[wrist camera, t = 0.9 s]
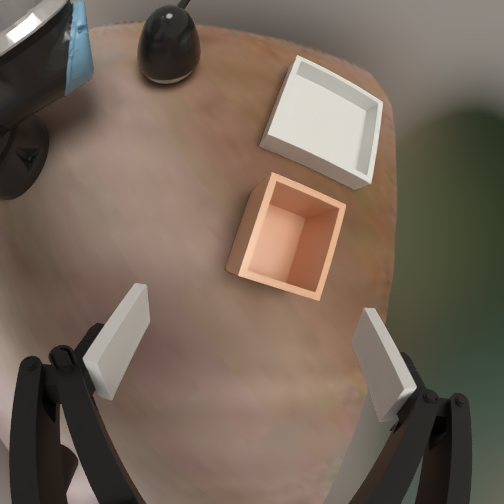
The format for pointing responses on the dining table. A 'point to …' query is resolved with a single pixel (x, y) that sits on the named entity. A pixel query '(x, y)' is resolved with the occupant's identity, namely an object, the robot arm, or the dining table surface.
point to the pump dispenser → (168, 44)
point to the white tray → (325, 124)
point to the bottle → (68, 465)
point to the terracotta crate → (287, 237)
